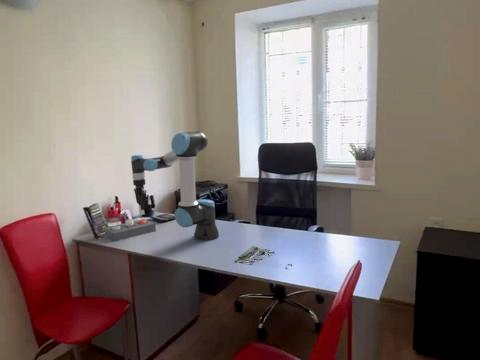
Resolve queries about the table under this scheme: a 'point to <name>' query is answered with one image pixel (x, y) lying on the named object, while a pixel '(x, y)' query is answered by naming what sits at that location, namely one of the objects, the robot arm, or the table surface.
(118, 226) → the button sage
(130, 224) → the button cream
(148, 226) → the grey tray
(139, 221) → the button red
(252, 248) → the model
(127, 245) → the table surface
